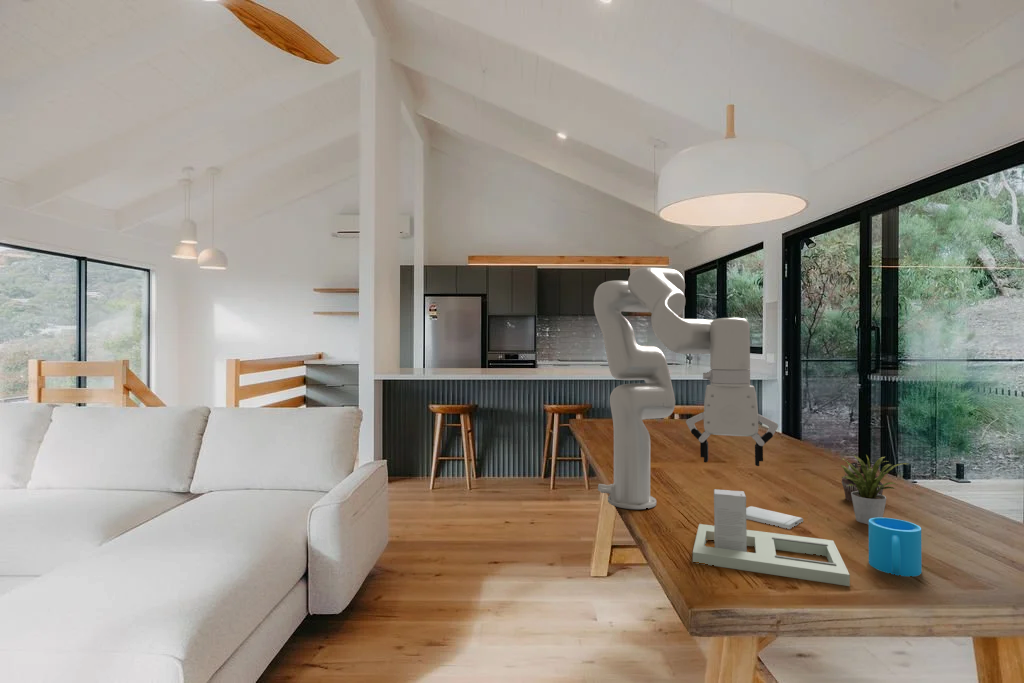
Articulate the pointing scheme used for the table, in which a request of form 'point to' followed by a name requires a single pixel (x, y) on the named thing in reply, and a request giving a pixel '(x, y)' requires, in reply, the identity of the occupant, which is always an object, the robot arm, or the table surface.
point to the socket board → (775, 556)
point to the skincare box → (730, 520)
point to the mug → (895, 546)
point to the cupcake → (850, 489)
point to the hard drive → (772, 517)
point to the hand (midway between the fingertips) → (731, 463)
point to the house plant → (868, 489)
